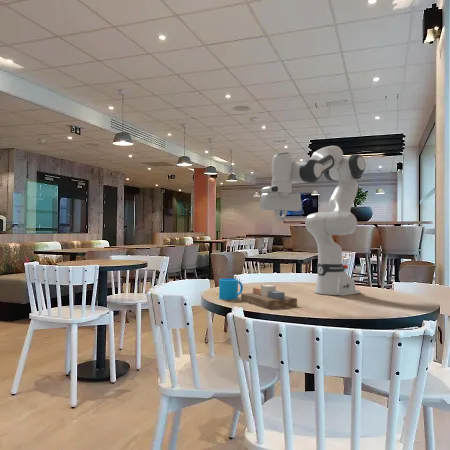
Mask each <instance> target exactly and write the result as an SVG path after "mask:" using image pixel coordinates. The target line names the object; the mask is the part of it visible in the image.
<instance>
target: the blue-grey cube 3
mask: <svg viewBox="0 0 450 450" xmlns="http://www.w3.org/2000/svg"><path fill="white" fill-rule="evenodd" d="M285 296H286V295H285V292H284V291H280V290H276V291H270V292H269V298H271V299H275V300H277V299H284V298H285Z"/></svg>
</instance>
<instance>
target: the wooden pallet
mask: <svg viewBox="0 0 450 450" xmlns="http://www.w3.org/2000/svg"><path fill="white" fill-rule="evenodd" d="M240 301H241V302H244V301H245V302H244V303H247V302H248V303H249V304H251V303H252V304H251V305H254V304H255V305H254V306H257V305H258V307H260V306H261V308H263V307H264V308H263V309H267V308H271V309H276V308H275V307H282V308H290V307H291V308H292V307H297V306H298V298H296V297H293V296H288V295H285V298H284V299H277V300H275V299H271V298H269V297H264V296H261V295H256V294H253V292H245V293H241V294H240Z"/></svg>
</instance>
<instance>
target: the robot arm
mask: <svg viewBox="0 0 450 450" xmlns="http://www.w3.org/2000/svg"><path fill="white" fill-rule="evenodd" d="M271 160H272V161H271V176H272V179H271V185H269V186H265V187H262V188H261V195H260V197H259V198H260V200H259V208H260V209H261V211H262V210H263V211H274V213H275V216H276V220H277V222H285V221H286V217H287V215H288V212H300V211H301V210H302V207H303V206H302V199H301V198H302V197H301V196H302V195H301V192H300V191H298V190H297V189H295V190H293V189H292V186H293V185H294V184H307V183H309V184H314V183H316V182H318V181H319V179H320V178H321V177H322V175H323V177H324V178H325V179H326V180H328V181H330V182H335V181H336V182H337V181H338V183H337V185H336V187H335V188H334V190H333V192H332V194H331V196H330V198H329V200H328V208H329V209H330V210H331V211H328V212H327V211H324V212H322V211H318V212H314V213H310V214H308V215H307V217H305V218H306V219H305V228H306V230H307V232H308V233H309V234H310V235H312V237H313V238H314V240H315V242H316V245H317V255H318V258H317V259H318V260H317V261H318V262H317V264H316V265H317V267H316V271H317V275H316V276H317V277H316V284H315V288H314V291H313V292H314V293H316V294H321V295H327V296H329V295H330V296H332V295H333V296H350V295H355V294H360V293H361V290H360V289H359V290H358V289H356V283H355V280H354V278H352V277H351V276H350V275H349V274H347V273H346V272H345V271H346V270H348V269H349V265H348V264H343V260H342V259H343V258H342V257H343V250H342V247H341V245H340V244H338V243H337V242H335V241H334V239H333V236H345V235H351V234H353V233H355V232H356V229H357V228H358V227H357V226H358V220H357V217H356V216H355V214H353V213H352V212H351V209H352V206H353V204H354V202H355V199H356V198H357V195H358V189H359V183H358V181H357V180H359V179H361V178H362V175H363V174H364V172H365V170H366V167H367V165H366V161H365V158H364V157H363V155H361V154H355V153H354V154H351V155H347V156H344V152H343V150H342V149H341V147H340V146H338V145H329V146H324V147H321V148H320V149H317V150H316V151H314V152H313V153H312V155H311V157H310V159H307V160H301V161H296V160H294V159H293V157H292V154H291V153H290V152H280V153H276V154H274V155H273V157H272V159H271ZM292 184H293V185H292Z"/></svg>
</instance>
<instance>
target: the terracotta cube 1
mask: <svg viewBox="0 0 450 450" xmlns="http://www.w3.org/2000/svg"><path fill="white" fill-rule="evenodd" d="M252 291H253V292H252V293H253V294H256V295H261V286H257V287H252Z"/></svg>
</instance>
